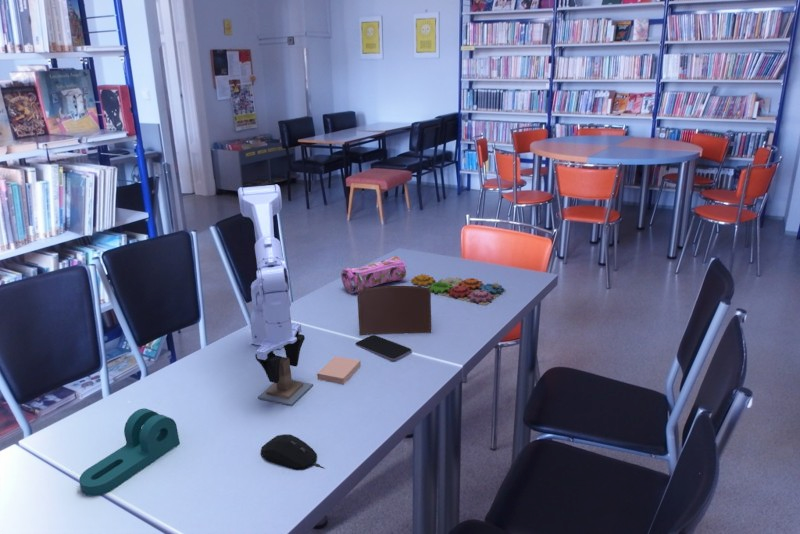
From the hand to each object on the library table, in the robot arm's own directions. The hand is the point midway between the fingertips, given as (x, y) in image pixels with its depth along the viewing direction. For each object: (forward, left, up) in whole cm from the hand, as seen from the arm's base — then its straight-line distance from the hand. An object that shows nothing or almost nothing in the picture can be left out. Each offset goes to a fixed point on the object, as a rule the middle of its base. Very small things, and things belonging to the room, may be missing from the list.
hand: (283, 373), depth 131 cm
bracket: (-14, -32, -5) cm, 36 cm away
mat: (0, 0, -5) cm, 5 cm away
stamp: (0, 0, -4) cm, 4 cm away
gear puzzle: (+17, +73, -6) cm, 75 cm away
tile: (+4, +12, -4) cm, 13 cm away
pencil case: (-9, +66, -5) cm, 67 cm away
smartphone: (+12, +27, -6) cm, 30 cm away
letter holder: (+10, +40, -5) cm, 42 cm away
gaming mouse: (+15, -19, -6) cm, 25 cm away
